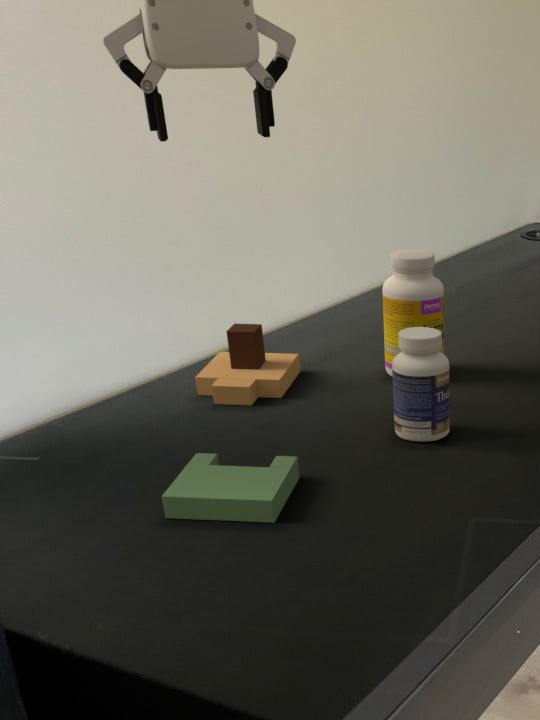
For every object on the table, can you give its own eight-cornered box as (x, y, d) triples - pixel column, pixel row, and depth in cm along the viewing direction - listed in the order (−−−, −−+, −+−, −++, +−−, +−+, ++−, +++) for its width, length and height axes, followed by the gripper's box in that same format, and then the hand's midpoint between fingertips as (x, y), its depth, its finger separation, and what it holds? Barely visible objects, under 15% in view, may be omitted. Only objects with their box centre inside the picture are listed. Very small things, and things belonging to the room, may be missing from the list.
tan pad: (190, 403, 102) (181, 345, 99) (222, 368, 112) (215, 315, 109) (275, 406, 102) (269, 348, 99) (300, 371, 112) (295, 317, 108)
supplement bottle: (424, 386, 107) (421, 263, 100) (374, 376, 110) (368, 255, 103) (455, 370, 112) (455, 251, 105) (407, 360, 115) (403, 244, 108)
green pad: (165, 518, 80) (161, 496, 79) (199, 473, 87) (196, 452, 86) (274, 523, 79) (272, 500, 78) (299, 477, 87) (297, 456, 86)
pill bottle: (446, 444, 94) (445, 342, 88) (390, 442, 94) (386, 339, 89) (452, 424, 98) (452, 325, 93) (399, 422, 98) (395, 323, 93)
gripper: (276, -77, 92) (295, 130, 101) (79, -81, 86) (118, 137, 96) (292, -81, 86) (310, 138, 95) (82, -86, 81) (123, 146, 90)
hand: (214, 137), depth 95 cm, fingers open, 9 cm apart
